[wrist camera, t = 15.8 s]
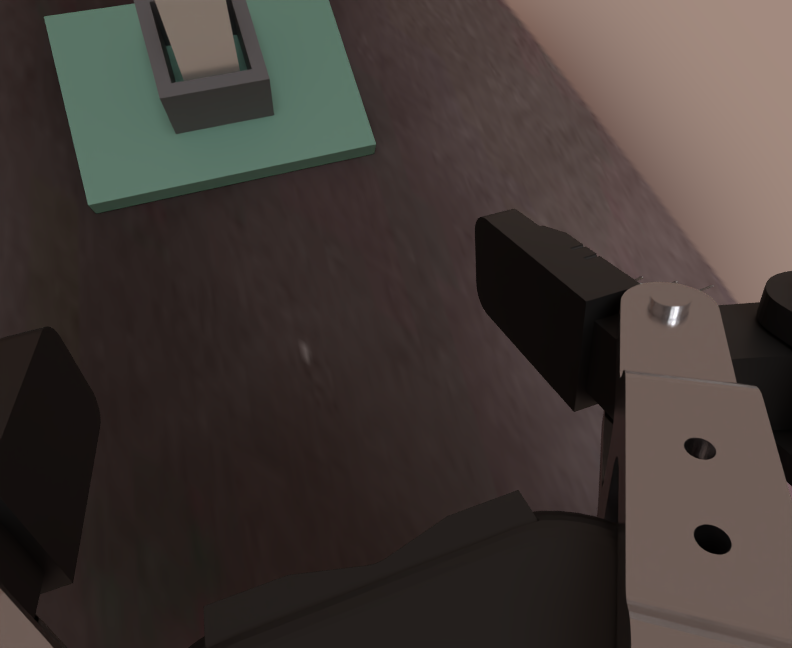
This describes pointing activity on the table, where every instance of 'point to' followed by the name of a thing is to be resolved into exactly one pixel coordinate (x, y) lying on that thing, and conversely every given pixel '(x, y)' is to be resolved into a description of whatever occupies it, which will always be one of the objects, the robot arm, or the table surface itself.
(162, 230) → the table surface
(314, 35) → the header board
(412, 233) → the table surface
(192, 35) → the keyed plug
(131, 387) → the table surface
